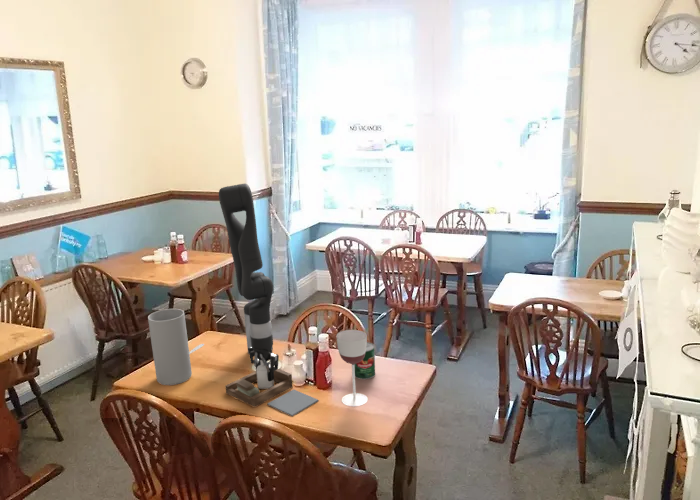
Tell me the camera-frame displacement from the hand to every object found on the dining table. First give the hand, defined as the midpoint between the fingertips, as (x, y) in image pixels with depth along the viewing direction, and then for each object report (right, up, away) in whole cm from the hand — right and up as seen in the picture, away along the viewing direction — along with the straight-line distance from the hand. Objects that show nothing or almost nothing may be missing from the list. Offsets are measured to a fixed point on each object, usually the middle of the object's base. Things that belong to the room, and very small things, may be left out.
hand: (265, 377), depth 201 cm
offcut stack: (-5, -5, -5) cm, 9 cm away
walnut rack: (-2, -4, -1) cm, 5 cm away
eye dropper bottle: (0, -4, +1) cm, 4 cm away
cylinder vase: (-35, -3, +11) cm, 37 cm away
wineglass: (+31, -5, -10) cm, 33 cm away
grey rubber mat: (+11, -6, -11) cm, 16 cm away
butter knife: (-37, +1, +28) cm, 46 cm away
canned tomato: (+35, 0, +7) cm, 36 cm away
